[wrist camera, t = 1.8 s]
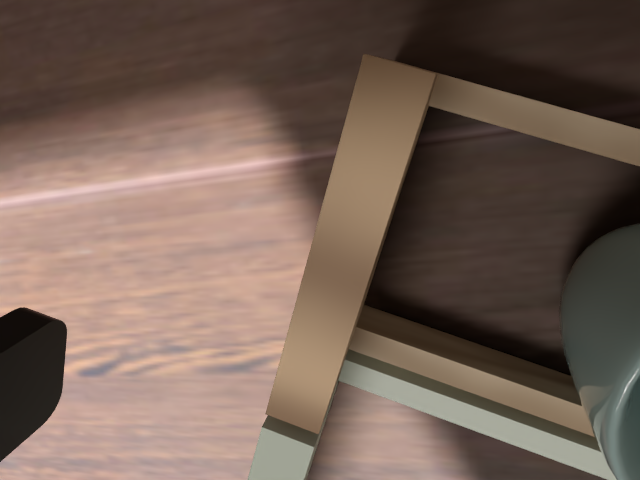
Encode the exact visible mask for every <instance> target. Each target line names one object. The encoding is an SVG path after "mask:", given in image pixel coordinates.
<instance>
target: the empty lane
mask: <svg viewBox="0 0 640 480" xmlns="http://www.w3.org/2000/svg"><path fill="white" fill-rule="evenodd" d="M339 381H341V382H343V383H346V384H349V385H352V386H354V387H357V388H360V389H362V390H365V391H368V392H371V393H373V394H376V395H379V396H381V397H384V398H387V399H390V400H392V401H395V402H398V403H401V404H403V405H406V406H409V407H411V408H414V409H417V410H420V411H422V412H425V413H428V414H430V415H433V416H436V417H439V418H441V419H444V420H447V421H450V422H452V423H455V424H458V425H460V426H463V427H466V428H469V429H471V430H474V431H477V432H480V433H482V434H485V435H488V436H490V437H493V438H496V439H499V440H501V441H504V442H507V443H509V444H512V445H515V446H518V447H520V448H523V449H526V450H529V451H531V452H534V453H537V454H539V455H542V456H545V457H548V458H550V459H553V460H556V461H559V462H561V463H564V464H567V465H569V466H572V467H575V468H578V469H580V470H583V471H586V472H588V473H591V474H594V475H597V476H599V477H602V478H605V479H608V480H617V479H616V478H615V476H614V474H613V473H612V471H611V470H610V468H609V466H608V464H607V462H606V461H605V458H604V456H603V454H602V452H601V450H600V448H599V445H598V443H597V441H596V438H595V437H593V436H590V435H588V434H585V433H582V432H579V431H576V430H574V429H571V428H568V427H565V426H563V425H560V424H557V423H554V422H551V421H549V420H546V419H543V418H540V417H537V416H535V415H532V414H529V413H526V412H523V411H521V410H518V409H515V408H512V407H509V406H507V405H504V404H501V403H498V402H495V401H493V400H490V399H487V398H484V397H481V396H479V395H476V394H473V393H470V392H467V391H465V390H462V389H459V388H456V387H453V386H451V385H448V384H445V383H442V382H440V381H437V380H434V379H431V378H428V377H426V376H423V375H420V374H417V373H414V372H412V371H409V370H406V369H403V368H400V367H398V366H395V365H392V364H389V363H386V362H384V361H381V360H378V359H375V358H372V357H370V356H367V355H364V354H361V353H358V352H356V351H353V350H350V349H348V352H347V355H346V358H345V361H344V364H343V366H342V369H341V372H340V375H339V378H338V381H337V384H336V386H335V389H334V392H333V395H332V398H331V401H330V403H329V406H328V409H327V412H326V415H325V418H324V421H323V423H322V426H321V429H320V432H319V434H316V433H314V432H311V431H308V430H306V429H303V428H301V427H298V426H295V425H293V424H290V423H288V422H285V421H282V420H280V419H277V418H274V417H272V416H269V415H268V416H267V418H266V420H265V422H264V424H263V426H262V429H261V432H260V436H259V440H258V443H257V447H256V451H255V454H254V458H253V462H252V465H251V469H250V473H249V476H248V480H306V479H307V476H308V473H309V470H310V467H311V464H312V461H313V458H314V455H315V452H316V449H317V446H318V443H319V440H320V437H321V434H322V431H323V428H324V424H325V421H326V418H327V415H328V412H329V409H330V406H331V403H332V400H333V397H334V394H335V391H336V388H337V385H338V382H339Z"/></svg>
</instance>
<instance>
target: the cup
mask: <svg viewBox="0 0 640 480" xmlns="http://www.w3.org/2000/svg"><path fill="white" fill-rule="evenodd" d="M559 321H560V334H561V341H562V346H563V350H564V354H565V357H566V360H567V364H568V367H569V370H570V373H571V376H572V380H573V383H574V385H575V388H576V391H577V394H578V396H579V399H580V402H581V404H582V407H583V409H584V412H585V414H586V417H587V419H588V421H589V424H590V426H591V429H592V431H593V434H594V436H595V438H596V441H597V443H598V445H599V448H600V450H601V452H602V454H603V456H604V458H605V461H606V462H607V464H608V466H609V468H610V470H611V471H612V473H613V474H614V476H615V478H616V479H617V480H640V223H637V224H632V225H628V226H625V227H621V228H617V229H615V230H613V231H611V232H609V233H606V234H604V235H602V236H600V237H599V238H598V239H596V240H595V241H594V242H593V243H591V244H590V245H589V246H587V247H586V249H585V250H584V251H583V252H582V253H581V254H580V256H579V257H578V258H577V259H576V261H575V263H574V264H573V266H572V268H571V270H570V271H569V273H568V276H567V278H566V281H565V284H564V287H563V290H562V294H561V301H560V308H559Z"/></svg>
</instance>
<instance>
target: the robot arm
mask: <svg viewBox="0 0 640 480" xmlns="http://www.w3.org/2000/svg"><path fill="white" fill-rule="evenodd" d="M66 339H67V328H66V325H65V323H64V322H62V321H61V320H58V319H55V318H52V317H50V316H47V315H44V314H42V313H39V312H36V311H33V310H31V309H28V308H18V309H15V310H13V311H11V312H10V313H8V314H6V315H4V316H2V317H0V462H1V461H2V460H3V459H4V458H5V457H6V456H7V455H9V454H10V453H11V452H12V451H13V450H14V449H15V448H17V447H18V446H19V445H20V444H21V443H22V442H23V441H25V440H26V439H27V438H28V437H29V436H30V435H32V434H33V433H34V432H35V431H36V430H37V429H38V428H40V427H41V426H42V425H43V424H44V423H45V422H46V421H47V420H48V418H49V417H50V416H51V414H52V413H53V411H54V410H55V408H56V406H57V404H58V402H59V400H60V397H61V393H62V387H63V375H64V363H65V351H66Z"/></svg>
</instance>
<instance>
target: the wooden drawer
mask: <svg viewBox="0 0 640 480" xmlns="http://www.w3.org/2000/svg"><path fill="white" fill-rule="evenodd" d="M429 106H431V107H435V108H438V109H442V110H445V111H449V112H452V113H456V114H459V115H463V116H466V117H470V118H473V119H477V120H480V121H483V122H487V123H490V124H494V125H497V126H501V127H504V128H508V129H511V130H515V131H518V132H522V133H525V134H529V135H532V136H536V137H539V138H543V139H546V140H550V141H553V142H556V143H560V144H563V145H567V146H570V147H574V148H577V149H581V150H584V151H588V152H591V153H595V154H598V155H602V156H605V157H609V158H612V159H616V160H619V161H623V162H626V163H629V164H633V165H636V166H640V129H637V128H633V127H630V126H626V125H623V124H619V123H615V122H612V121H608V120H605V119H601V118H597V117H594V116H590V115H587V114H583V113H579V112H576V111H572V110H569V109H565V108H562V107H558V106H554V105H551V104H547V103H544V102H540V101H536V100H533V99H529V98H526V97H522V96H518V95H515V94H511V93H508V92H504V91H500V90H497V89H493V88H490V87H486V86H483V85H479V84H475V83H472V82H468V81H465V80H461V79H457V78H454V77H450V76H447V75H443V74H439V73H436V72H432V71H429V70H425V69H422V68H418V67H414V66H411V65H407V64H404V63H400V62H396V61H393V60H388V59H384V58H380V57H376V56H371V55H367V54H363V58H362V62H361V66H360V69H359V73H358V77H357V80H356V84H355V88H354V91H353V95H352V99H351V102H350V106H349V110H348V113H347V117H346V121H345V124H344V128H343V132H342V135H341V139H340V143H339V146H338V150H337V154H336V157H335V161H334V165H333V168H332V172H331V176H330V179H329V183H328V187H327V190H326V194H325V198H324V201H323V205H322V209H321V212H320V216H319V220H318V223H317V227H316V231H315V234H314V238H313V242H312V245H311V249H310V253H309V256H308V260H307V264H306V267H305V271H304V275H303V278H302V282H301V286H300V289H299V293H298V297H297V300H296V304H295V308H294V311H293V315H292V319H291V322H290V326H289V330H288V333H287V337H286V341H285V344H284V348H283V352H282V355H281V359H280V363H279V366H278V370H277V374H276V377H275V381H274V385H273V388H272V392H271V396H270V399H269V403H268V407H267V410H266V414H267V415H269V416H272V417H274V418H277V419H280V420H282V421H285V422H288V423H290V424H293V425H295V426H298V427H301V428H303V429H306V430H308V431H311V432H314V433H316V434H319V432H320V429H321V426H322V423H323V421H324V418H325V415H326V412H327V409H328V406H329V403H330V401H331V398H332V395H333V392H334V389H335V386H336V384H337V381H338V378H339V375H340V372H341V369H342V366H343V364H344V361H345V358H346V355H347V352H348V349H350V350H353V351H356V352H358V353H361V354H364V355H367V356H370V357H372V358H375V359H378V360H381V361H384V362H386V363H389V364H392V365H395V366H398V367H400V368H403V369H406V370H409V371H412V372H414V373H417V374H420V375H423V376H426V377H428V378H431V379H434V380H437V381H440V382H442V383H445V384H448V385H451V386H453V387H456V388H459V389H462V390H465V391H467V392H470V393H473V394H476V395H479V396H481V397H484V398H487V399H490V400H493V401H495V402H498V403H501V404H504V405H507V406H509V407H512V408H515V409H518V410H521V411H523V412H526V413H529V414H532V415H535V416H537V417H540V418H543V419H546V420H549V421H551V422H554V423H557V424H560V425H563V426H565V427H568V428H571V429H574V430H576V431H579V432H582V433H585V434H588V435H590V436H593V437H595V436H594V434H593V431H592V429H591V426H590V424H589V421H588V419H587V417H586V414H585V412H584V409H583V407H582V404H581V402H580V399H579V396H578V394H577V391H576V388H575V385H574V383H573V380H572V376H569V375H567V374H564V373H561V372H558V371H555V370H552V369H549V368H546V367H543V366H540V365H538V364H535V363H532V362H529V361H526V360H523V359H520V358H517V357H514V356H511V355H508V354H506V353H503V352H500V351H497V350H494V349H491V348H488V347H485V346H482V345H479V344H477V343H474V342H471V341H468V340H465V339H462V338H459V337H456V336H453V335H450V334H448V333H445V332H442V331H439V330H436V329H433V328H430V327H427V326H424V325H421V324H419V323H416V322H413V321H410V320H407V319H404V318H401V317H398V316H395V315H392V314H390V313H387V312H384V311H381V310H378V309H375V308H372V307H369V306H366V305H364V302H365V299H366V296H367V293H368V290H369V287H370V284H371V281H372V278H373V275H374V272H375V269H376V266H377V263H378V260H379V257H380V253H381V250H382V247H383V244H384V241H385V238H386V235H387V232H388V229H389V226H390V223H391V220H392V217H393V214H394V211H395V208H396V205H397V202H398V199H399V195H400V192H401V189H402V186H403V183H404V180H405V177H406V174H407V171H408V168H409V165H410V162H411V159H412V156H413V153H414V150H415V147H416V144H417V140H418V137H419V134H420V131H421V128H422V125H423V122H424V119H425V116H426V113H427V110H428V107H429Z"/></svg>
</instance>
